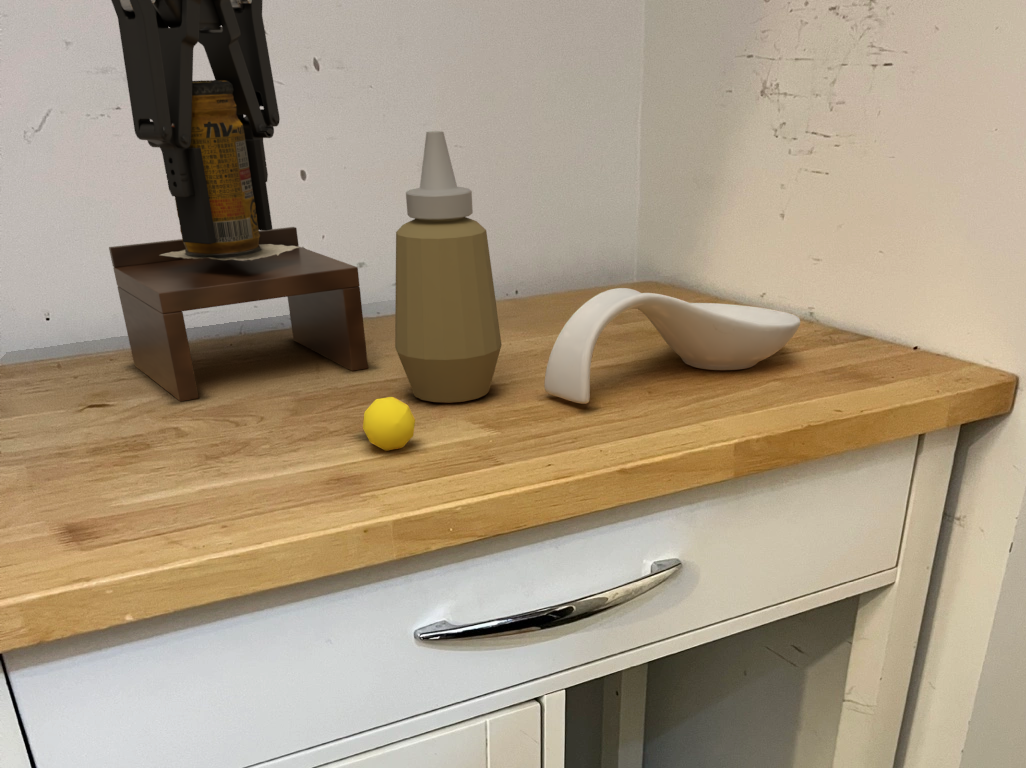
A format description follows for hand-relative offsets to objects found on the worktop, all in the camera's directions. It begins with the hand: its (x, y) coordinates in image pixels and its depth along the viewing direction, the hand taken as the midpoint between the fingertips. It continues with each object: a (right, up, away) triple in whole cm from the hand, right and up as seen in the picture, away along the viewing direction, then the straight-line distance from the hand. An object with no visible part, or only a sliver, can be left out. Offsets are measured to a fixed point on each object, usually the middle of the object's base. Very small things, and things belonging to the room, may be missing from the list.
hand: (228, 234), depth 87 cm
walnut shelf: (0, -9, +6) cm, 10 cm away
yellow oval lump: (+14, -20, -12) cm, 27 cm away
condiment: (0, -1, +1) cm, 2 cm away
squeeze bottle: (+18, -14, -2) cm, 23 cm away
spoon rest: (+36, -11, +1) cm, 37 cm away
